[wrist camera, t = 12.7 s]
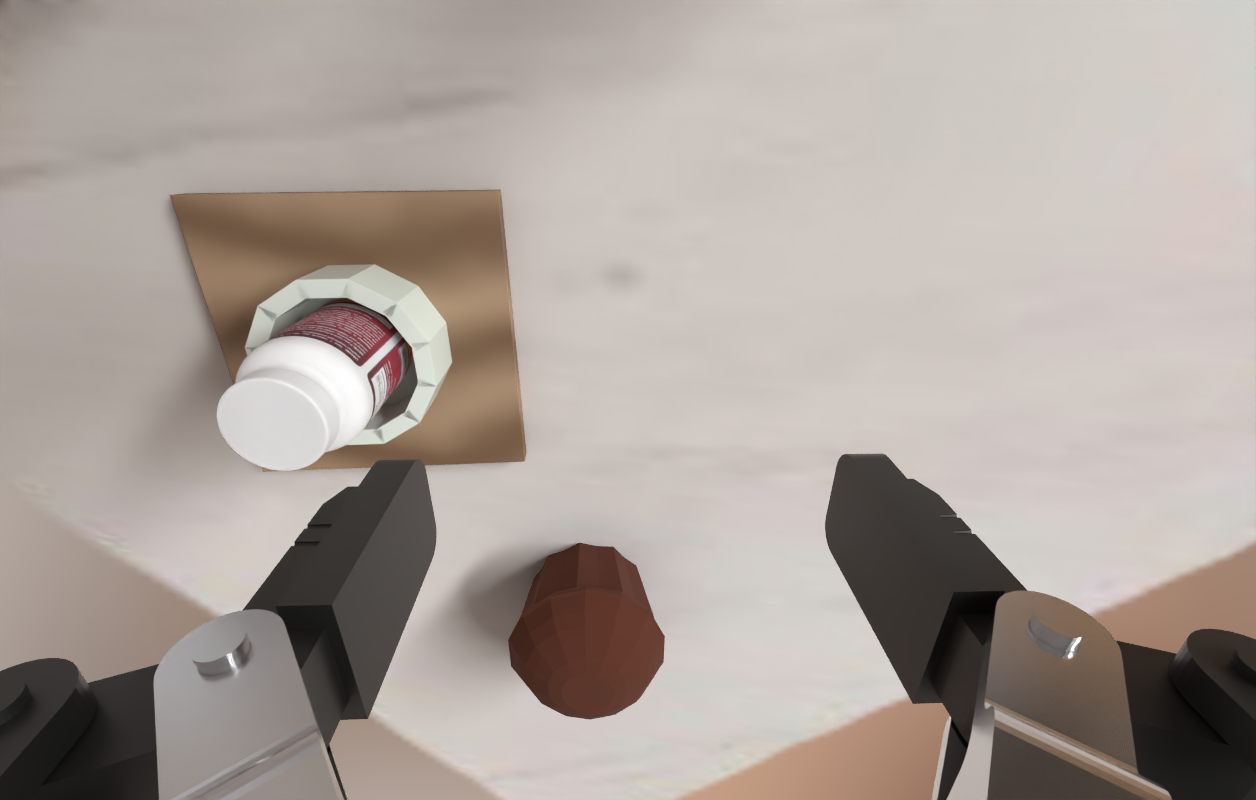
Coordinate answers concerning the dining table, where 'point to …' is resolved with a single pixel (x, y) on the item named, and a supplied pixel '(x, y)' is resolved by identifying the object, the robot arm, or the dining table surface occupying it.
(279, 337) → the pill bottle
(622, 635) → the muffin
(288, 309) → the pale green bowl
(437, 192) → the walnut board
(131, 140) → the dining table surface
